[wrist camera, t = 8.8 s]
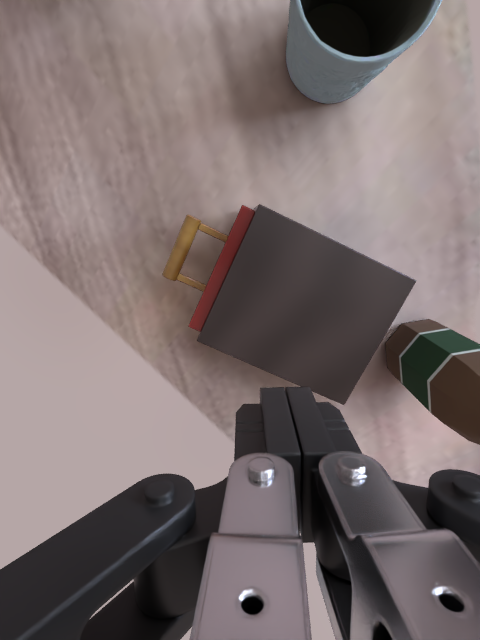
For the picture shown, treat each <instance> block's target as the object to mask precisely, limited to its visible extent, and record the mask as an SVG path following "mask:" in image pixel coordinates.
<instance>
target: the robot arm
mask: <svg viewBox="0 0 480 640" xmlns="http://www.w3.org/2000/svg"><path fill="white" fill-rule="evenodd" d="M300 533H301V536H300ZM307 542H314V543H315V547H316V552H317V554H316V574H317V578H318V581H319V585H320V588H321V592H322V595H323V599H324V602H325V605H326V608H327V612H328V615H329V618H330V622H331V626H332V629H333V632H334V636H335V639H336V640H480V475H477V474H474V473H471V472H467V471H462V470H452V469H449V470H441V471H438V472H436V473H434V474H433V475H432V476H431V477H430V479H429V487H428V488H425V487H420V486H415V485H410V484H405V483H400V482H397V481H394V480H391V478H390V477H389V475H388V474H387V472H386V471H385V470H384V468H383V467H382V466H381V464H379V463H378V462H377V461H376V460H374V459H373V458H371V457H369V456H367V455H364V454H362V452H361V450H360V449H359V447H358V445H357V443H356V441H355V439H354V437H353V435H352V433H351V431H350V430H349V427H348V426H347V424H346V422H345V420H344V418H343V416H342V414H341V412H340V410H338V409H337V408H336V407H334V406H333V405H331V404H330V403H329V402H317V403H316V401H315V398H314V396H313V393H312V391H311V389H310V387H285V390H284V387H277V388H260V404H243V405H242V406H241V407H240V409H239V410H238V411H237V412H236V429H235V457H234V462H233V463H232V465H231V467H230V469H229V474H228V477H227V478H225V479H224V480H223V481H221V482H219V483H217V484H215V485H213V486H209V487H206V488H202V489H198V490H194V486H193V484H192V483H191V482H190V481H189V480H188V479H186V478H185V477H182V476H179V475H175V474H158V475H153V476H150V477H147V478H145V479H143V480H141V481H139V482H137V483H136V484H134V485H133V486H131V487H130V488H128V489H126V490H125V491H123V492H122V493H120V494H119V495H117V496H115V497H114V498H112V499H111V500H109V501H108V502H106V503H104V504H103V505H101V506H100V507H98V508H96V509H95V510H93V511H92V512H90V513H89V514H87V515H86V516H84V517H82V518H81V519H79V520H78V521H76V522H75V523H73V524H71V525H70V526H68V527H67V528H65V529H63V530H62V531H60V532H59V533H57V534H56V535H54V536H52V537H51V538H49V539H48V540H46V541H45V542H43V543H41V544H40V545H38V546H37V547H35V548H33V549H32V550H31V551H29V552H27V553H26V554H24V555H23V556H21V557H19V558H18V559H16V560H15V561H13V562H11V563H10V564H8V565H7V566H5V567H4V568H2V569H0V640H180V639H181V638H182V637H183V636H184V635H185V634H186V633H187V631H188V630H189V629H190V628H191V627H192V630H191V636H190V640H312V638H311V627H310V616H309V606H308V595H307V584H306V574H305V563H304V552H303V543H307ZM132 579H134V582H132V583H131V584H130V585H129V586H128V587H127V588H125V589H124V590H123V591H122V592H121V593H120V594H119V595H118V596H116V597H115V598H114V599H113V600H112V601H110V602H109V603H108V604H107V605H106V606H105V607H103V608H102V609H101V610H100V611H99V612H98V613H97V614H95V615H94V616H93V617H92V618H91V619H90V617H91V616H92V615H93V614H94V613H95V611H97V610H98V609H99V608H100V607H101V606H102V605H103V604H104V603H106V602H107V601H108V600H109V599H110V598H112V597H113V596H114V595H115V594H116V593H117V592H118V591H120V590H121V589H122V588H123V587H124V586H125V585H127V584H128V583H129V582H130V581H131V580H132ZM89 619H90V620H89Z"/></svg>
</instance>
